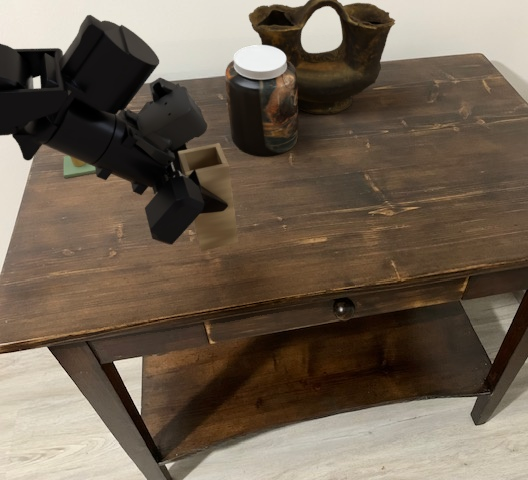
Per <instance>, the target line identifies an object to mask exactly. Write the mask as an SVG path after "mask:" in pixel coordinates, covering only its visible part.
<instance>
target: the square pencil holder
mask: <svg viewBox="0 0 528 480" xmlns="http://www.w3.org/2000/svg"><path fill="white" fill-rule="evenodd" d="M178 155H179V160H180V165H181V169H182V174H183V175H185V176H187V177H188V176H189V175H190V174H191V173H192V172H193V171H194V170H196V173H197V176H198V179H199V181H200V184H201V186H202V187H204V188H206V189H207V190H209V191H210V192H212V193H213V194H215V195H216V196H218V197H220V198H221V199H222V200H224V201H225V202H226V203H227V204H228V207H227V208H226V209H225V210H224V211H222V212H213V213H204V214H199V215H198V217H197V218H196V219H195V220H194V221H193V222H192V226H193V231H194V233H195V236H196V239H197V243H198V246H199V249H200V252H204V251H209V250H213V249H217V248H221V247H225V246H229V245H232V244H237V243H239V236H238V235H239V234H238V227H237V220H236V219H237V218H236V212H235V205H234V204H235V202H234V196H233V187H232V180H231V179H232V178H231V172H230V165H229V163H228V160H227V158H226V155H225V153H224V150H223V148H222V146H221V143H220V142H217V143H211V144H207V145H203V146H198V147H197V146H196V147H192V148H187V150H182V151H178Z"/></svg>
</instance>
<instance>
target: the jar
mask: <svg viewBox="0 0 528 480" xmlns="http://www.w3.org/2000/svg"><path fill="white" fill-rule="evenodd" d="M224 73H225V74H224V80H225V92H226V93H225V94H226V102H227V110H228V119H229V127H230V134H231V140H232V142H233V143H234V145H235V146H236V147H237V148H238V149H239V150H241V151H242V152H245V153H247V154H249V155H253V156H258V157H273V156H278V155H282V154H285V153H286V152H288V151H289V150H291V149H292V148H294V146H296V144H297V141H298V137H299V109H298V88H297V74H296V70H295V68H294V66H293V65H292V64H291V63H290V62H289V61H288V60H286V55H285V54H284V52H282V51H281V50H279V49H278V48H275V47H272V46H267V45H262V44H253V45H248V46H244V47H242V48H240V49H238V50H236V52H235V53H234V55H233V60H231V61H230V62H229V63H228V64H227V66H226V68H225V72H224Z"/></svg>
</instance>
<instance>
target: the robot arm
mask: <svg viewBox="0 0 528 480" xmlns="http://www.w3.org/2000/svg"><path fill="white" fill-rule="evenodd" d="M159 64H160V59H159V56H158V55H157V54H156V52H155V51H154V50H153V48H152V47H150V45H149V44H148V43H147V42H146V41H145V40H143V38H141V37H140V36H139V35H138V34H137V33H136V32H134V31H132V29H130V28H129V27H126V26H125V25H123V24H119V25H118V24H117V23H115V22H112V21H110V20H99V19H98V18H97V17H95V16H94V15H92V14H87V15H86V16H85V18H84V19H83V20H82V22H81V24H80V25H79V29H78V32H77V34H76V36H75V37H74V39H73V40H72V42H71V43H70V44H69V46H68V48H67V49H66V51H64V52H63V50H62V49H61V48H59V47H52V48H51V47H50V48H48V47H47V48H43V47H42V48H41V47H40V48H13V47H11V46H10V45H6V44H3V43H0V137H1V136H12V138H13V139H14V140H15V142H16V143H17V146H18V147H19V149H20V153H21V155H22V158H23V160H24V161H31V160H33V158H34V157H35V155H36V154H37V153H38V151H39V150H40V148H41V147H42V146H45V147H48V148H49V149H51V150H54V151H57V152H60V153H62V154H64V155H65V156H71V157H73V158H75V159H78V160H80V161H83V162H85V163H87V164H89V165H92V166H94V167H95V170H96V173H95V175H96V177H97V178H99V179H101V180H104V181H107V180H108V179H109V177H110V176H111V175H113V176H115V177H118V178H120V179H122V180H125V181H126V182H130V184H131V189H132V192H133V193H135V194H137V195H140V196H142V195H143V194H144V193H145V192H146V190H147V189H148V188H151V189H152V192H153V193H152V194H153V195H154V196H153V197H152V199H151V200H150V201H149V202H148V203H147V204H146V205H145V207H144V212H145V215H146V220H147V224H148V227H149V232H150V235H151V238H152V240H155V241H157V242H160V243H163V244H166V245H170V246H171V245H173V244H174V243H176V242H177V240H178V239H179V238H180V237H181V236H182V235H183V234H184V232H185V231H186V230H187V229H188V228H189V227H190V226H191V224H193V221H194V220H195V219H196V218H197V217H198V215H199V214H204V213H213V212H222V211H224V210H225V209H226V208H227V207H228V204H227V203H226V202H225V201H224V200H222V199H221V198H220V197H218V196H216V195H215V194H213V193H212V192H210V191H209V190H207V189H206V188H204V187H202V186H201V184H200V181H199V179H198V176H197V173H196V170H194V171H193V172H192V173H191V174H190V175H189V176H188V177H187V176H185V175H183V174H182V169H181V165H180V160H179V155H178V151H182V150H187V149H188V148H187V143H188V142H190V141H192V140H193V139H195V138H199V137H201V136H202V135H204V134H205V133H206V132H207V129H208V123H207V121H206V120H205V117H204V115H203V111H202V109H201V108H200V106H199V105H198V104H197V103H196V101H195V100H194V99H193V97H192V96H191V95H190V93H189V91H188V88H187V87H185V86H181V85H180V83H179V82H178V83H176V84H175V83H173V82H172V81H169V80H167V79H165V78H163V77H158V78H156V79H154V80H153V81H152V82H150V83H149V91H150V96H151V99H152V100H150V101H146V103H145V104H144V105H143V107H141V109H140V111H138V112H134V111H132V110H131V109H128V108H127V107H128V106H129V104H130V103H131V102H132V100H133V99H134V98H135V96H136V95H137V94H138V93H139V91H140V90H141V88H142V87H143V85H145V84H146V82H147V81H148V80H149V78H150V77H151V75H152V74H153V73H154V71H155V70H156V69H157V67H158V66H159ZM38 77H39V78H40V80H39V81H40V87H39V88H36V87H35V88H34V79H35V78H38ZM125 109H126V110H125Z"/></svg>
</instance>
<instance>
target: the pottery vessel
mask: <svg viewBox="0 0 528 480" xmlns="http://www.w3.org/2000/svg"><path fill="white" fill-rule="evenodd" d="M325 7H330V8H332V9H333V10H334V11H335V12H336V14H337V16H338V17H339V22H340V27H341V36H342V37H341V38H342V39H341V43H340V44H339V45H338V46H337V47H336V48H334V49H331V50H328V51H322V52H308V51H307V50H305V48H304V47H303V44H302V33H303V29H304V28H305V26H306V25H307V23H308V21H309V20H310V18H311V17H312V16H313V15H314V13H315V12H316V11H318V10H320V9H322V8H325ZM248 20H249V22H250V24H251V27H252V29H253V30H254V32H256V33H257V34H258V37H259V38H260V41H261V45H267V46H272V47H275V48H278V49H279V50H281V51H282V52H284V54H285V55H286V60H288V61H289V62H290V63H291V64H292V65H293V66H294V68H295V70H296V74H297V88H298V110H300V111H303V112H305V113H309V114H314V115H331V114H333V115H334V114H337V113H341V112H342V111H344V110H347V109H349V108H350V107H351V106H352V104H353V98H352V97H353V96H356V95H358V94H359V93H361V92H363V91H364V90H366V89H367V88H369V87H370V86H372V85H374V84H375V83H376V81H377V79H378V77H379V75H380V71H381V69H382V65H381V60H382V57H383V53H384V50H385V47H386V45H387V41H388V40H387V39H388V37H389V34H390V31H391V28H392V27H393V26H394V25H395V24H396V20H395V19H394V18H392V17H390V12H389V11H385V10H384V9H383V8H380V7H378V6H377V5H375V4H372V3H369V2H368V3H367V2H354V3H353V2H352V3H349V4H345V5H343V4H342V2H339V0H308V1H306V3H304V4H303V5H299V6H293V7H292V6H289V5H284V4H278V3H276V4H275V3H273V4H271V5H260V6H257V7H256V8H255V9H253V12H250V13H249V14H248Z"/></svg>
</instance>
